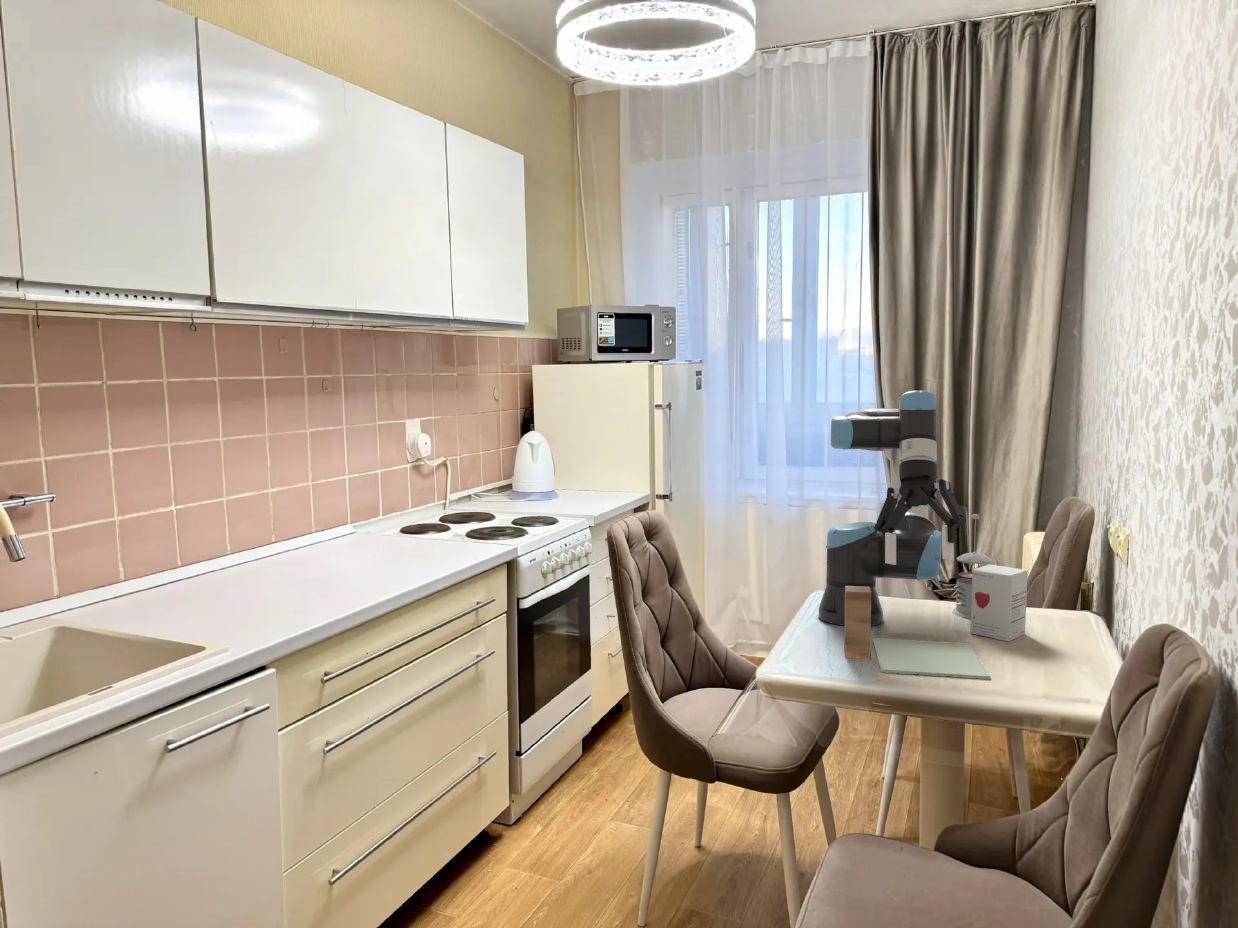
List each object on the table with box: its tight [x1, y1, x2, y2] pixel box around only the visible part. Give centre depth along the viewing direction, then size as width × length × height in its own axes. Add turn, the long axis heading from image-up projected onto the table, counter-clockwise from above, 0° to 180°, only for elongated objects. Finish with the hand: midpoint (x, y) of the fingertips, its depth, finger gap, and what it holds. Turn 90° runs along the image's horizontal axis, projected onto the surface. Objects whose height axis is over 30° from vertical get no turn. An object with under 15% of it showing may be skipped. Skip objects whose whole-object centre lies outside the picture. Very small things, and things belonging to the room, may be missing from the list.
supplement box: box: [970, 563, 1029, 642], centre depth 190 cm, size 9×9×15 cm
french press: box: [951, 513, 993, 619], centre depth 206 cm, size 10×12×25 cm
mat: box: [872, 637, 992, 680], centre depth 173 cm, size 22×20×1 cm
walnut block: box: [843, 586, 872, 660], centre depth 175 cm, size 5×5×14 cm
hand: (918, 561), depth 172 cm, fingers open, 13 cm apart
